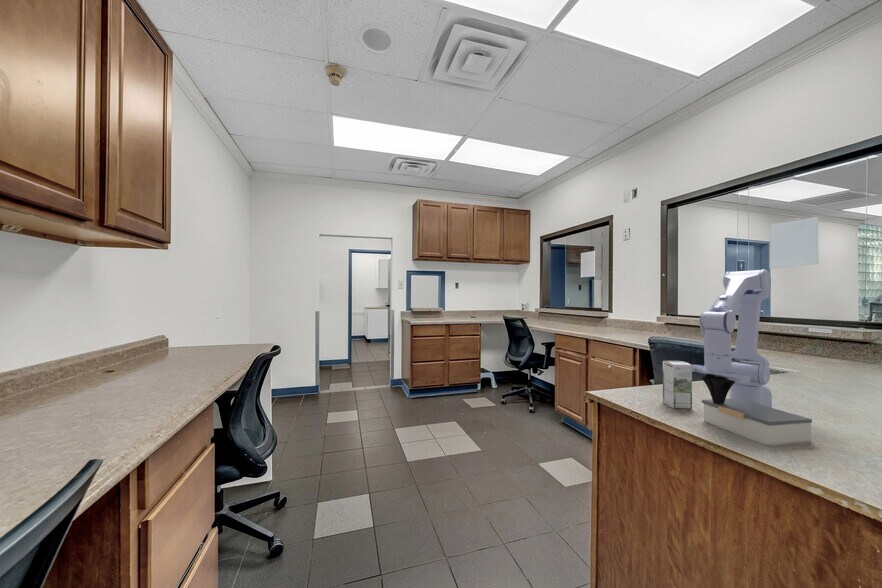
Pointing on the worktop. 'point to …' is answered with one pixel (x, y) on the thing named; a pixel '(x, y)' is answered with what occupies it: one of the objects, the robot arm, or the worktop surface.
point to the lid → (756, 412)
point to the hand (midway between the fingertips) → (718, 403)
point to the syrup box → (677, 384)
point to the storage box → (760, 429)
